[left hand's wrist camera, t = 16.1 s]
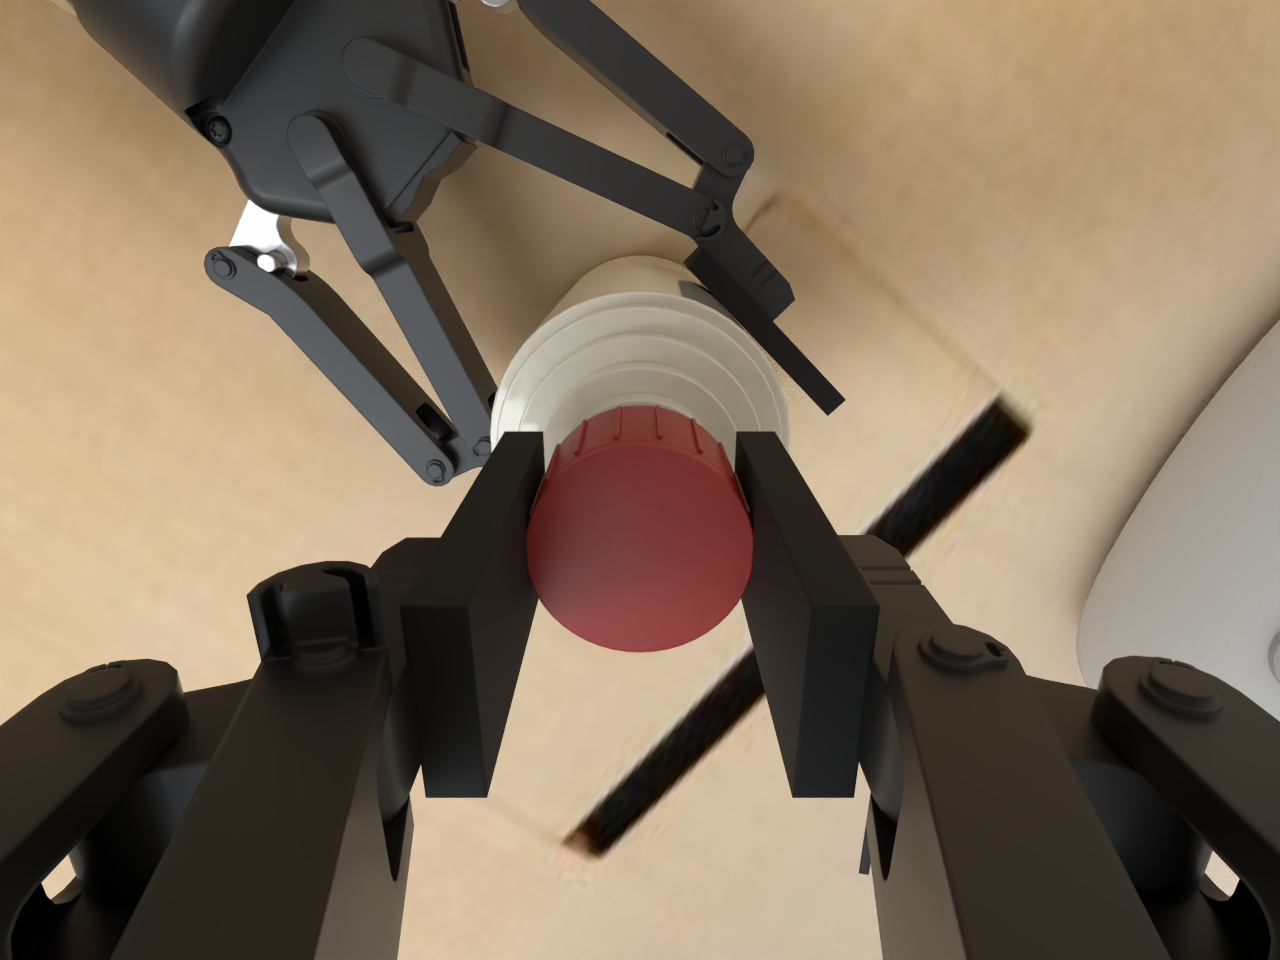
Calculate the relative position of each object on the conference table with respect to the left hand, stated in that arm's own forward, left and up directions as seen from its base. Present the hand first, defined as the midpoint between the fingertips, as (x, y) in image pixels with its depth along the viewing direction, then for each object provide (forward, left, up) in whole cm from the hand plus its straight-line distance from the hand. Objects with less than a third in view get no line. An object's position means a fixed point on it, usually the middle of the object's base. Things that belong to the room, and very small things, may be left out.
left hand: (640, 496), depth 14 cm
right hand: (-4, -2, -10) cm, 11 cm away
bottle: (0, 0, -16) cm, 16 cm away
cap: (0, 0, +2) cm, 2 cm away
